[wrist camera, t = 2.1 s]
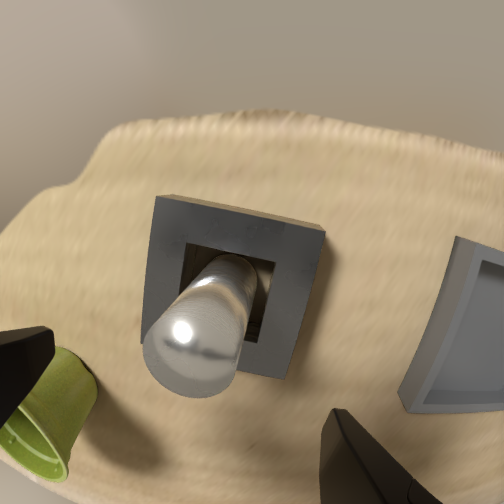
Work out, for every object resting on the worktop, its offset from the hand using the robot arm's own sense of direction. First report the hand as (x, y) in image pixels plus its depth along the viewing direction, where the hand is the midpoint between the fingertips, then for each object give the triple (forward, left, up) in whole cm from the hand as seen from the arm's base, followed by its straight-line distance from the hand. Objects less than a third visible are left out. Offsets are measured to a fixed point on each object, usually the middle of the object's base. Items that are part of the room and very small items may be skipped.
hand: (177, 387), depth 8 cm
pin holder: (0, 0, -11) cm, 11 cm away
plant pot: (+12, +12, -11) cm, 20 cm away
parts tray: (-19, 0, -11) cm, 22 cm away
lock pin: (0, 0, -11) cm, 11 cm away
